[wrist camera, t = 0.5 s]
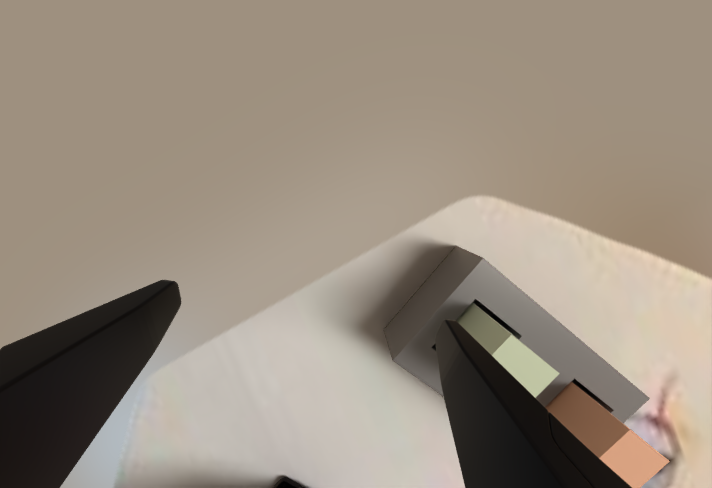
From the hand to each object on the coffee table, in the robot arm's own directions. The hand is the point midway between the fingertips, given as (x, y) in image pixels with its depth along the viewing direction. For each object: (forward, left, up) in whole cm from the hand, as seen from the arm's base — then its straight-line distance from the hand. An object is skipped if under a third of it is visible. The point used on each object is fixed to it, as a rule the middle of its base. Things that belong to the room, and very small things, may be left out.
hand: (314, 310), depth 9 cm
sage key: (+1, -14, -12) cm, 19 cm away
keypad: (+1, -20, -16) cm, 26 cm away
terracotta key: (+1, -26, -12) cm, 29 cm away
